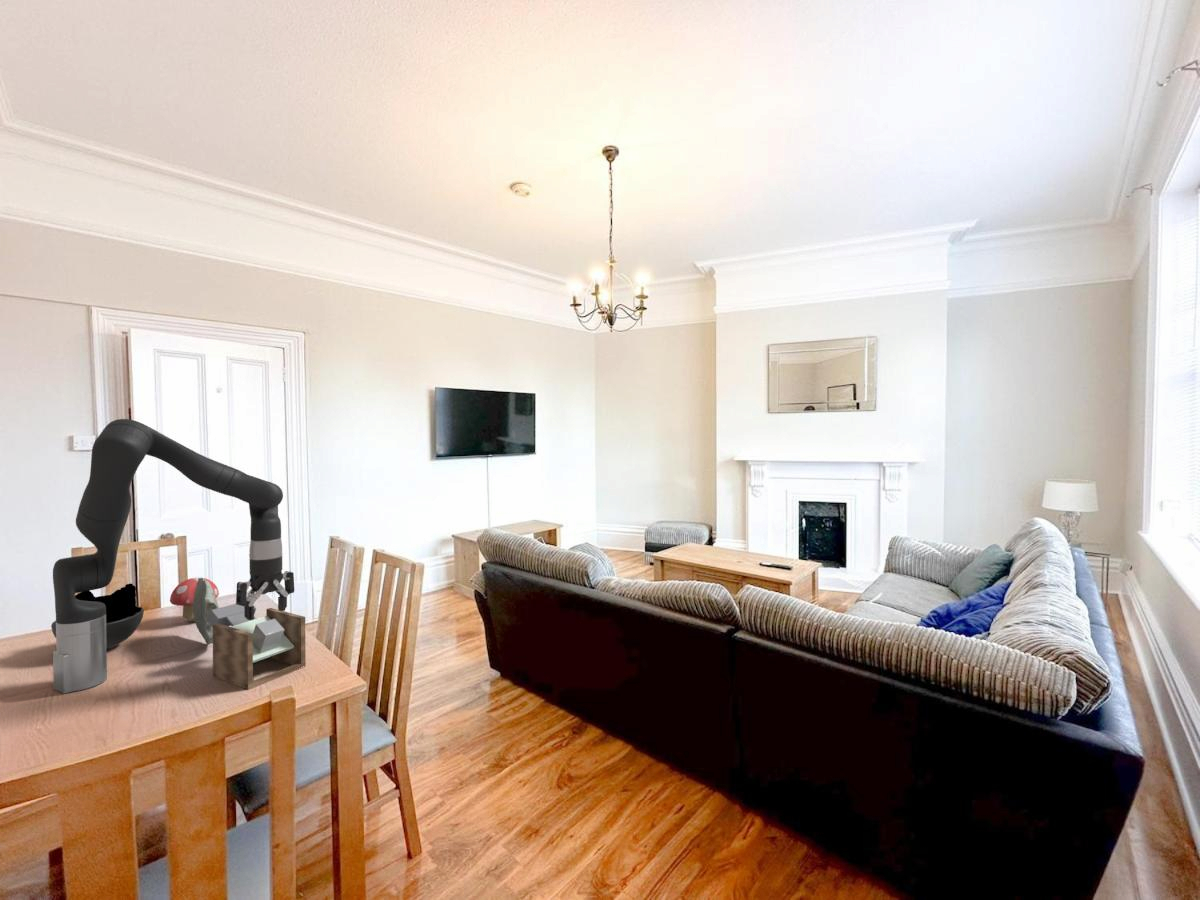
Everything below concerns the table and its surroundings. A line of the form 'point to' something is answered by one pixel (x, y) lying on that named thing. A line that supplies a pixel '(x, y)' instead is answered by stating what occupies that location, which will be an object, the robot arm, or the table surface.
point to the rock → (204, 608)
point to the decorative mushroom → (188, 596)
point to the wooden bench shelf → (238, 650)
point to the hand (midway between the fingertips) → (266, 614)
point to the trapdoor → (246, 627)
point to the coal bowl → (116, 613)
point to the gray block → (267, 635)
